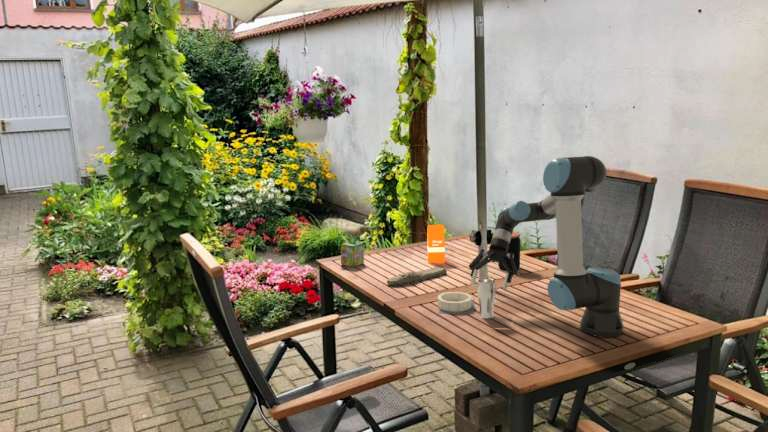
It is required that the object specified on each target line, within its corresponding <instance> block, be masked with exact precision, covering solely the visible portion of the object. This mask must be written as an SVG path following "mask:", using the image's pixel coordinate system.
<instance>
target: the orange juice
mask: <svg viewBox="0 0 768 432" xmlns="http://www.w3.org/2000/svg"><path fill="white" fill-rule="evenodd" d="M426 232H427V233H426V235H427V236H426V238H427V239H426V241H427V244H426V245H427V262H428V264H445V262H446V257H445V256H446V249H445V248H446V246H445V244H446V243H445V242H446V241H445V240H446V239H445V237H446V236H445V225H444V224H427V231H426Z"/></svg>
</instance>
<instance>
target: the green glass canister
mask: <svg viewBox="0 0 768 432" xmlns="http://www.w3.org/2000/svg"><path fill="white" fill-rule="evenodd" d="M352 240H353V241H352ZM364 245H365V244H364V242H358V241H357V237H354V236H349V237H348V241H347V242H344V243H341V244H340V265H341V264H343V265H342V266H344V265H347V266H346V267H349V266H356V267H358V266H357V265H359V266H361V265H364V264H365V257H364V256H365V252H364V250H365V249H364ZM363 263H364V264H363ZM360 264H361V265H360Z"/></svg>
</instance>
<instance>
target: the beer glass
mask: <svg viewBox="0 0 768 432" xmlns="http://www.w3.org/2000/svg"><path fill="white" fill-rule="evenodd" d="M477 299H478V303H479V312H478V317H479V318H481V319H488V320H489V319H493V318H494V317H495V314H494V305H495V299H496V280H494V279H492V278H481V279H479V280H478V281H477Z"/></svg>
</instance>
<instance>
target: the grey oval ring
mask: <svg viewBox="0 0 768 432" xmlns="http://www.w3.org/2000/svg"><path fill="white" fill-rule="evenodd" d="M438 311H439V312H438V314H439V315H446V314H447V315H474V313H475V299H472V307H471V309H469V310H467V311H463V312H447V311H443V310H441V309H439V310H438Z"/></svg>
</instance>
